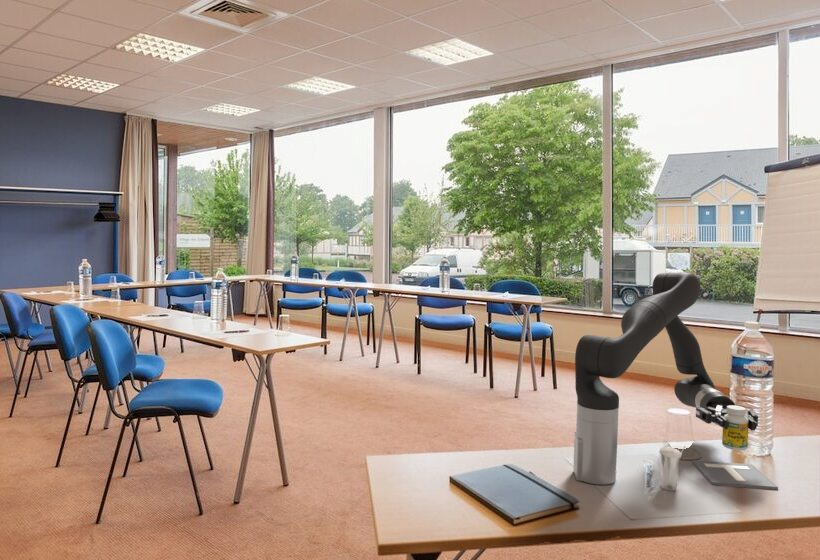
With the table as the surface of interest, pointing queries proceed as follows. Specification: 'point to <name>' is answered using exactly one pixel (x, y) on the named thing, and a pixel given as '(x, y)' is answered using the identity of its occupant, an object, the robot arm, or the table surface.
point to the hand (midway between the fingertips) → (740, 425)
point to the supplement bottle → (736, 428)
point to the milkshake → (669, 467)
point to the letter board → (734, 474)
